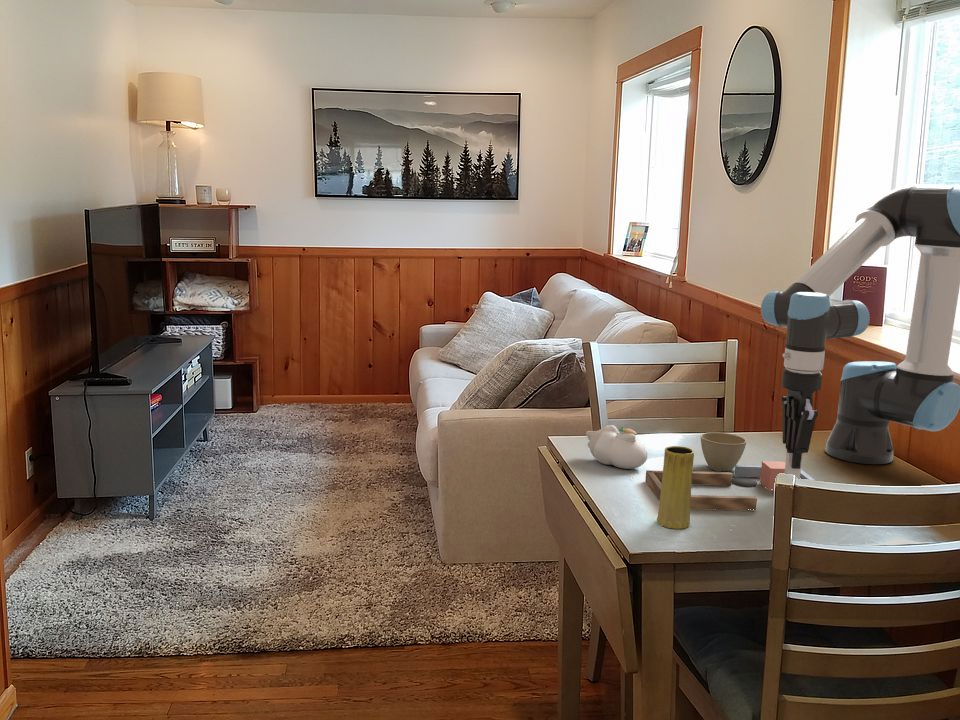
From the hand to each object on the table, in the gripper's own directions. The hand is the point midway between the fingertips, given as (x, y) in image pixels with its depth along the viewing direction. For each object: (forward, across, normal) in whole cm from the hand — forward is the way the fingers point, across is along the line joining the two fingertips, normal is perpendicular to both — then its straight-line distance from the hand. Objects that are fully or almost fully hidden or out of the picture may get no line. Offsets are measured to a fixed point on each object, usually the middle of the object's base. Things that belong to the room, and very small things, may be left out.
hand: (791, 481), depth 187 cm
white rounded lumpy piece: (+3, -19, -33) cm, 38 cm away
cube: (+3, -6, -1) cm, 7 cm away
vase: (+3, +17, -29) cm, 34 cm away
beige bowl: (+4, -18, -9) cm, 21 cm away
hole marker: (+3, -8, -7) cm, 11 cm away
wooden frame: (+3, +1, -19) cm, 19 cm away
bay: (+3, -8, 0) cm, 9 cm away
